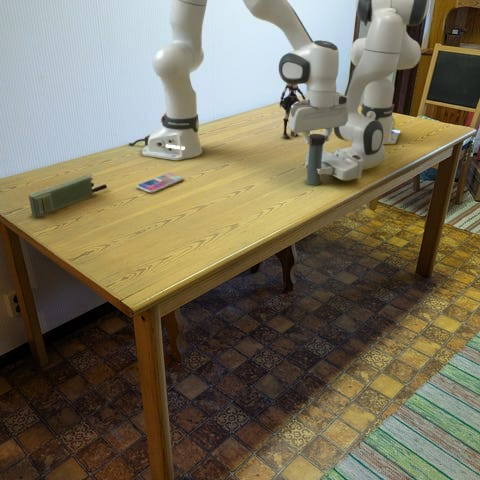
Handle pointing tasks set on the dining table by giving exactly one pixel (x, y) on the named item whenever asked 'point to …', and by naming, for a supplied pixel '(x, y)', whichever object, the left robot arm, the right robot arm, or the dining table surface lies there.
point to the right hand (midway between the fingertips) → (312, 168)
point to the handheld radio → (62, 195)
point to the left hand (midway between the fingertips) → (316, 142)
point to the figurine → (289, 104)
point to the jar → (314, 164)
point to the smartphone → (159, 182)
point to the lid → (317, 139)
